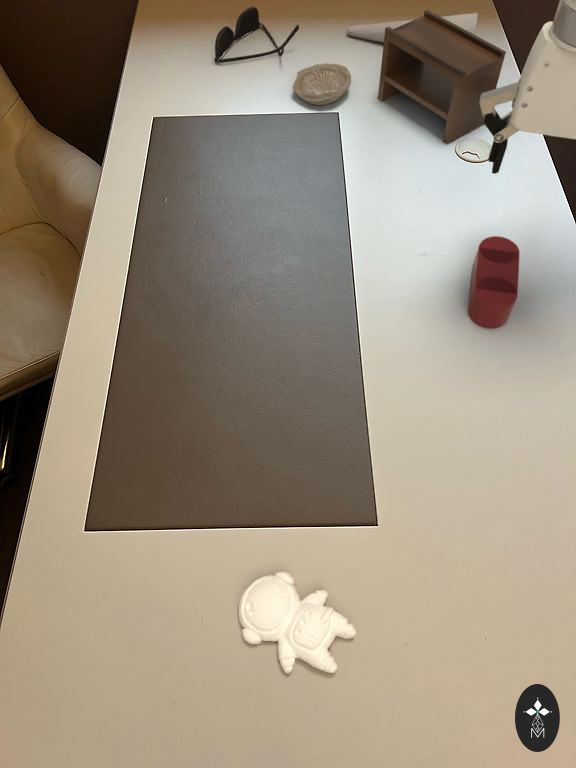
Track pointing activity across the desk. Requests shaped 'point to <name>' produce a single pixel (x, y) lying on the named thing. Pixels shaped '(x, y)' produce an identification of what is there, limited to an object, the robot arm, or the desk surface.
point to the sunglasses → (243, 26)
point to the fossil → (322, 83)
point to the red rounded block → (494, 282)
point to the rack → (440, 70)
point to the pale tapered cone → (378, 30)
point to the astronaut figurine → (292, 621)
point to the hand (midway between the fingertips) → (536, 173)
